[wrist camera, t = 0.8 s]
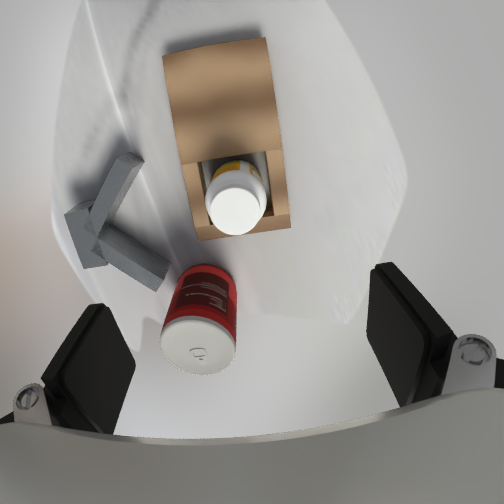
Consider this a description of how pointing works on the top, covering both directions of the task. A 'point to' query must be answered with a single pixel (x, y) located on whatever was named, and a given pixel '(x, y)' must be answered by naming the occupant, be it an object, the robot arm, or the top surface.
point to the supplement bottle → (236, 197)
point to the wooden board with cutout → (226, 121)
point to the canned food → (201, 322)
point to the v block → (114, 230)
